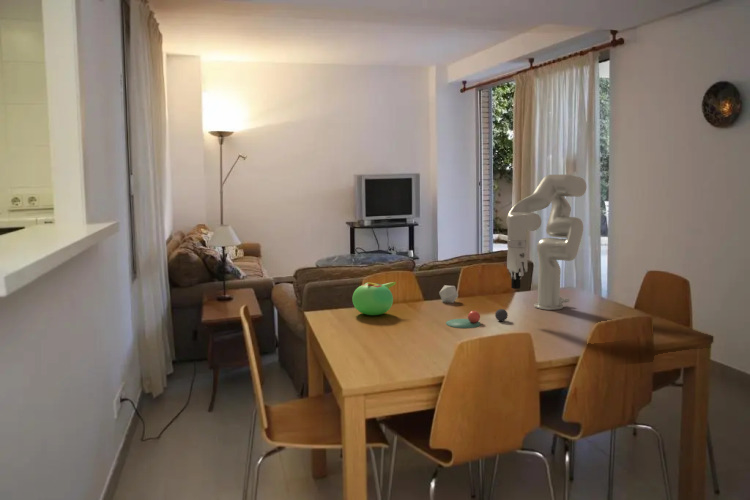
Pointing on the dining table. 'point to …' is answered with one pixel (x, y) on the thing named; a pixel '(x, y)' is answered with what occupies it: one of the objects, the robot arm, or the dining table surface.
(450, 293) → the die
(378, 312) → the green apple
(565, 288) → the dining table surface
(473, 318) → the red ball
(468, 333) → the dining table surface
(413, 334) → the dining table surface
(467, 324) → the green mark
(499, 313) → the black ball
